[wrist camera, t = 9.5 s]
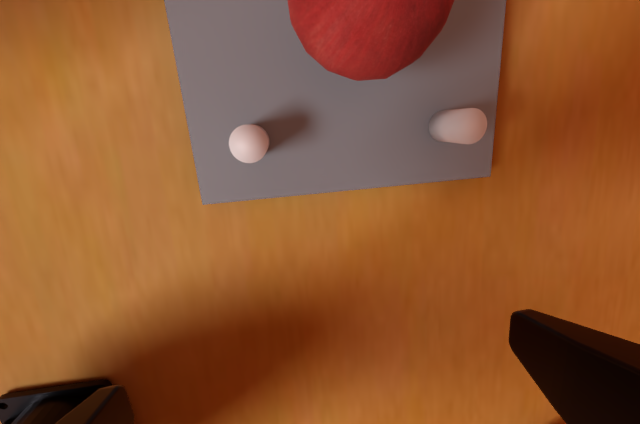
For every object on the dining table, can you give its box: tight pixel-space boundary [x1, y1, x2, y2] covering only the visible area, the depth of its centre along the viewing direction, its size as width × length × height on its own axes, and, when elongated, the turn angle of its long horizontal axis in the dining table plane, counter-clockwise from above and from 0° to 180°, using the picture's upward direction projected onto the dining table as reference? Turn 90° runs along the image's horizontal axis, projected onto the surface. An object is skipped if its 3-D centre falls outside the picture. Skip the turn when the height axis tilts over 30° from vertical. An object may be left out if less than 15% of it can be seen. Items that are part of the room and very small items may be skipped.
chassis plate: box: [164, 0, 506, 205], centre depth 14 cm, size 16×16×4 cm
